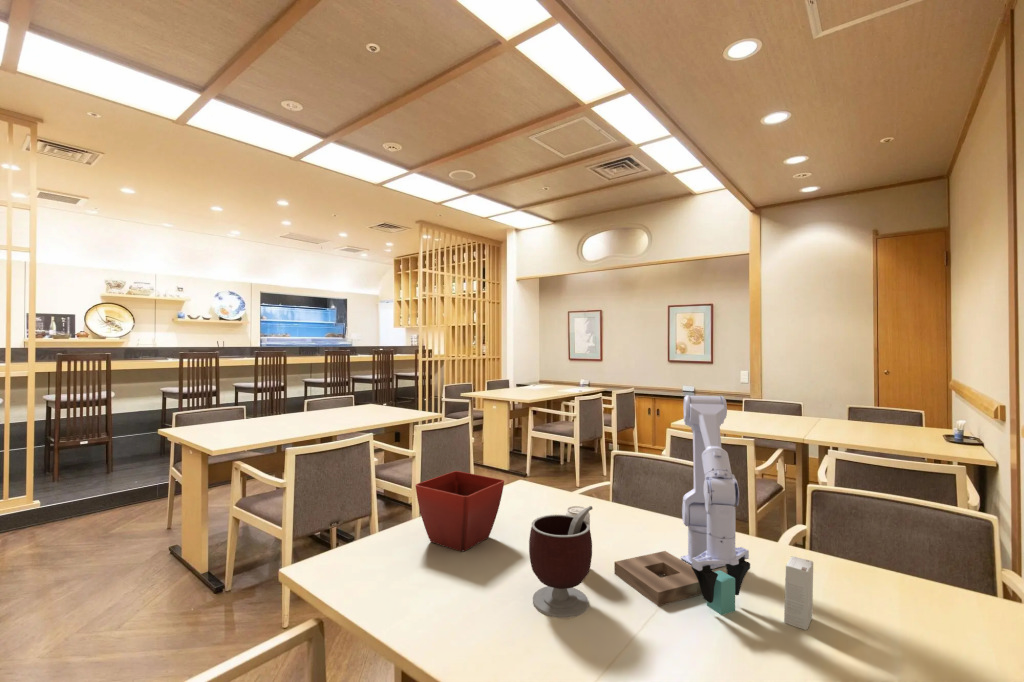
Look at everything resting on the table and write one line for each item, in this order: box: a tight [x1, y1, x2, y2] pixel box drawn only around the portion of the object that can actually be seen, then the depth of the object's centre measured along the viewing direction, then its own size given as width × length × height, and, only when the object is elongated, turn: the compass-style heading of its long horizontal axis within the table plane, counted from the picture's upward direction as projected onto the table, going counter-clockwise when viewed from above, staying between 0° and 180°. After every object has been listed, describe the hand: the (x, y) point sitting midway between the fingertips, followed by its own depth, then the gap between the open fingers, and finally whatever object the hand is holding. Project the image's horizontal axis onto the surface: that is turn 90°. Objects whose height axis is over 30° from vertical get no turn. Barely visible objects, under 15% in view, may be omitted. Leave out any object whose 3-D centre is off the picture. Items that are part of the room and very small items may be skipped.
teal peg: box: [706, 570, 736, 616], centre depth 104 cm, size 4×4×7 cm
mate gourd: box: [528, 505, 593, 619], centre depth 106 cm, size 16×14×20 cm
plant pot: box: [415, 470, 505, 552], centre depth 140 cm, size 19×19×17 cm
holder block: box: [613, 550, 702, 607], centre depth 115 cm, size 16×16×3 cm
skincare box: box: [783, 556, 814, 631], centre depth 99 cm, size 6×4×12 cm
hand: (720, 596), depth 104 cm, fingers open, 7 cm apart
